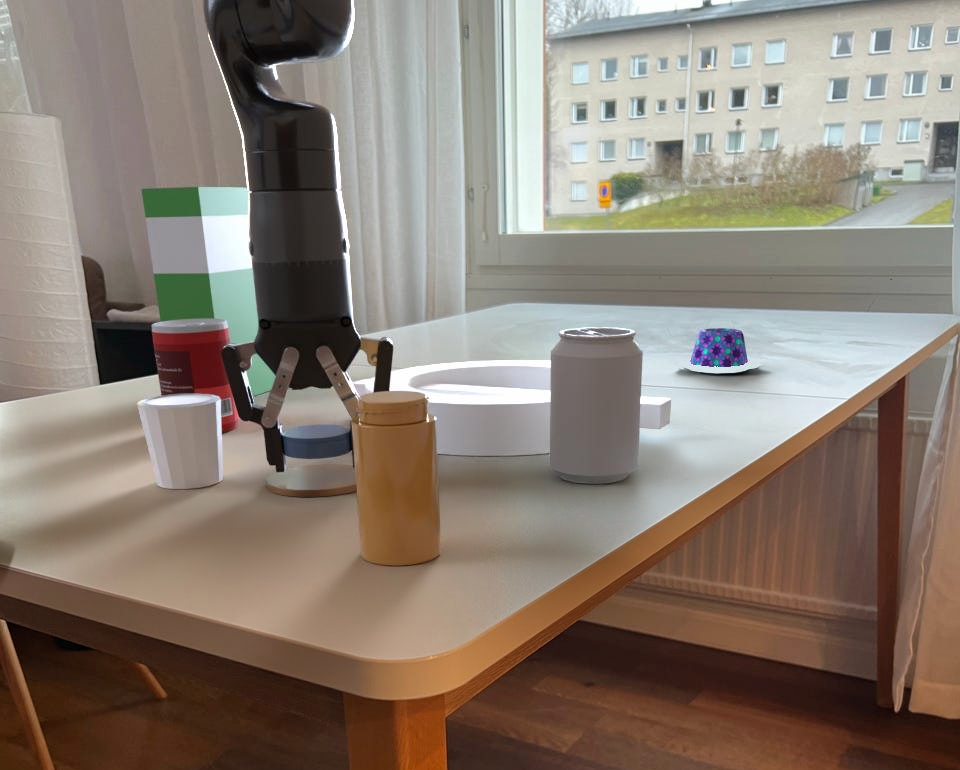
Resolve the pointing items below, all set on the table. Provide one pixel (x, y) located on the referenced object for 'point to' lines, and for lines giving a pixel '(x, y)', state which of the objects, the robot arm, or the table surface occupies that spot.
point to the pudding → (719, 348)
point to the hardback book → (205, 262)
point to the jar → (396, 478)
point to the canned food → (195, 361)
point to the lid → (316, 441)
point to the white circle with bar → (494, 405)
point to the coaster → (313, 480)
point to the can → (595, 404)
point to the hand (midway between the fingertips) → (319, 467)
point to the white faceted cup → (184, 439)
